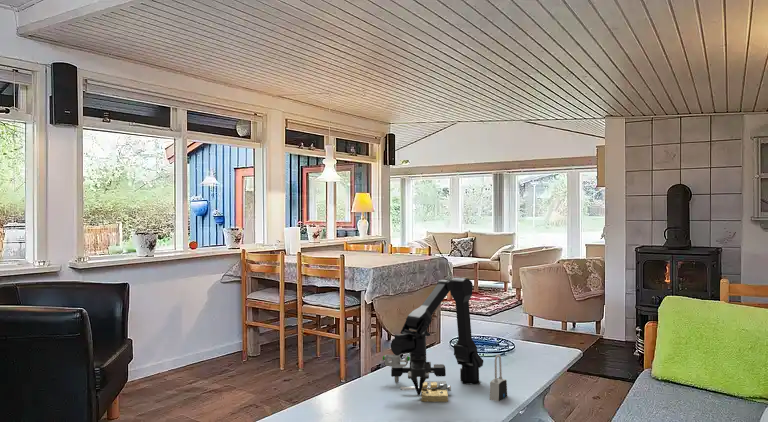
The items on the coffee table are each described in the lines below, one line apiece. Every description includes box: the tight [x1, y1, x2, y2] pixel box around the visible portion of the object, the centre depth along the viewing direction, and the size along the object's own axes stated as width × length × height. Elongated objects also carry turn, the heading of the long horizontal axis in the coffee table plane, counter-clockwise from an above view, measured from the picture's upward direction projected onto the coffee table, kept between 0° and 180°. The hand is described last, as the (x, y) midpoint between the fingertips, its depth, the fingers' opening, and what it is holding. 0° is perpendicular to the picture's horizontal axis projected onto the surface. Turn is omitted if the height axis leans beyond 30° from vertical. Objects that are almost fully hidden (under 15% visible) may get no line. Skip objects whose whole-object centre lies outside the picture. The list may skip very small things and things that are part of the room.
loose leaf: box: [420, 382, 449, 403], centre depth 202 cm, size 9×10×4 cm
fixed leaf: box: [400, 380, 452, 392], centre depth 210 cm, size 18×10×4 cm, turn 87°
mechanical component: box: [382, 354, 410, 384], centre depth 221 cm, size 3×10×10 cm, turn 79°
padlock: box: [489, 354, 508, 402], centre depth 200 cm, size 7×4×15 cm, turn 141°
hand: (418, 395), depth 202 cm, fingers closed
